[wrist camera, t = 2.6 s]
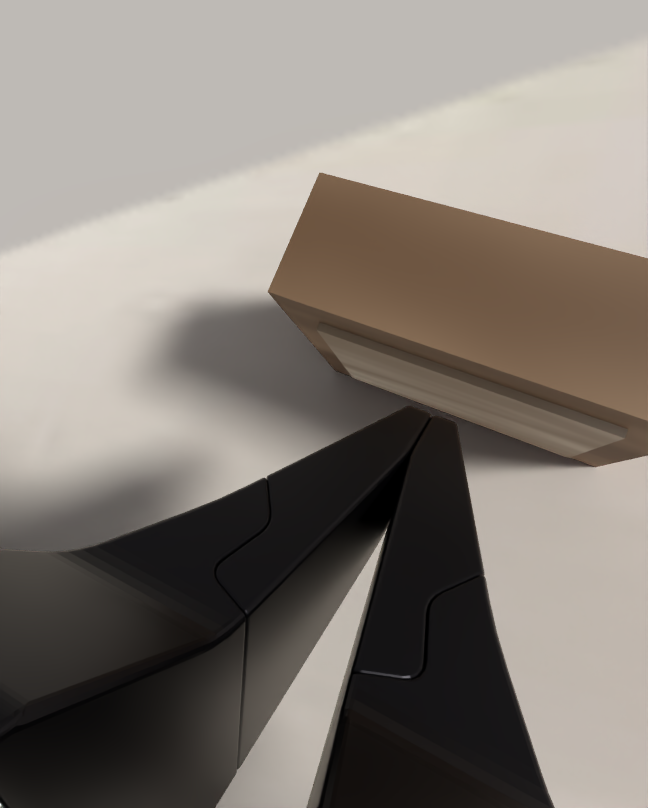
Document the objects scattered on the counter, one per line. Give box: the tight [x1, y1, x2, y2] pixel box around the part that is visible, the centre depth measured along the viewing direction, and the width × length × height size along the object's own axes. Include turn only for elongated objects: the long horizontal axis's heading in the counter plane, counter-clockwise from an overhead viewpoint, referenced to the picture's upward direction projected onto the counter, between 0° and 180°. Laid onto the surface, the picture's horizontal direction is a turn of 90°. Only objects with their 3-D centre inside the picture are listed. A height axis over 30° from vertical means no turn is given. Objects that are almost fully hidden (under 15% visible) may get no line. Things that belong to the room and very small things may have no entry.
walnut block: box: [268, 173, 648, 467], centre depth 14 cm, size 3×9×8 cm, turn 67°
